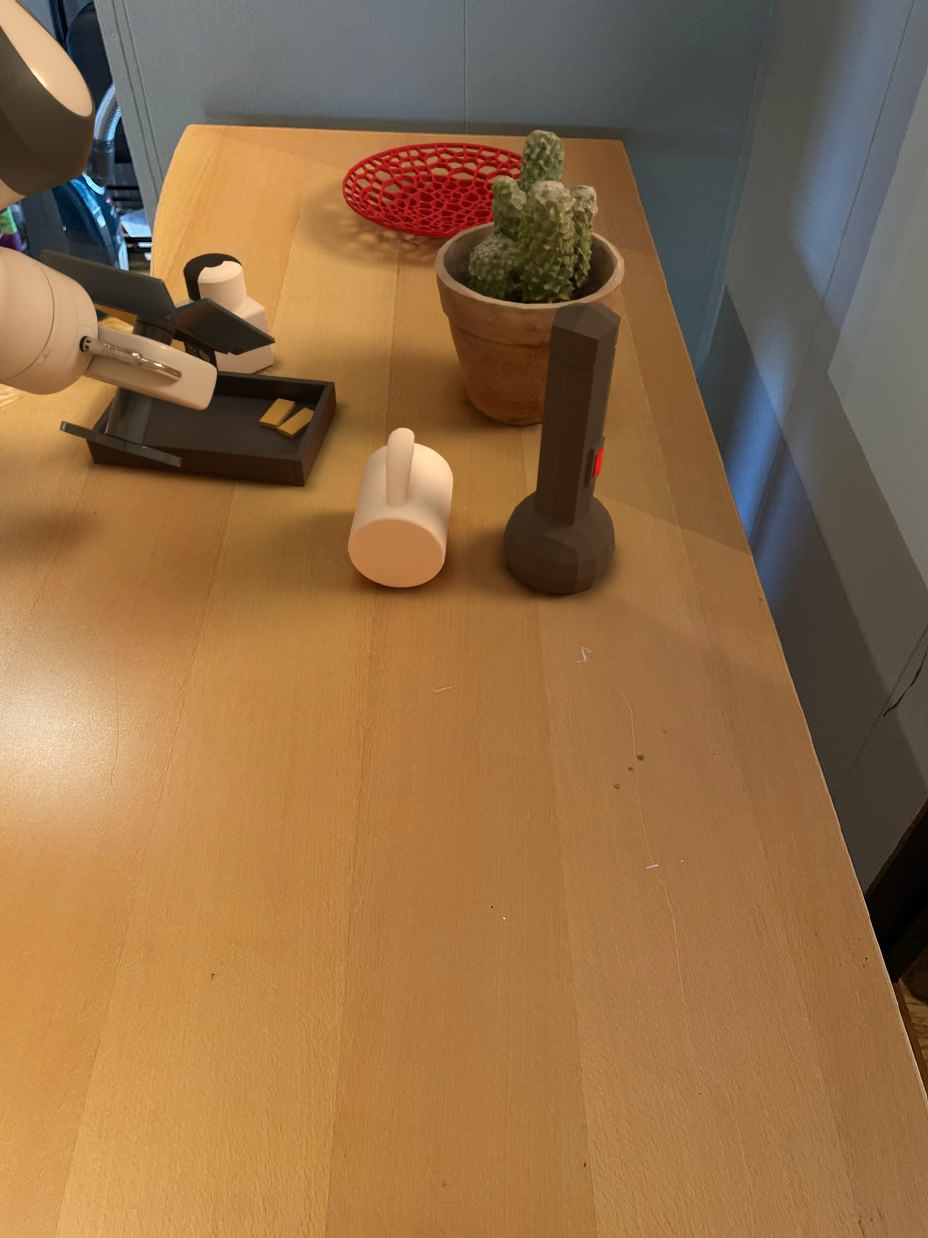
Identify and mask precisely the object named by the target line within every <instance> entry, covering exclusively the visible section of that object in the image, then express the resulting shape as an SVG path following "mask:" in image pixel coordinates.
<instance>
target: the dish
mask: <svg viewBox="0 0 928 1238" xmlns="http://www.w3.org/2000/svg"><path fill="white" fill-rule="evenodd" d="M38 258H39V260H40V261H41V263H42V264H44V265H46V266H48V267H50V268H52V269H54V270H56V271H58V272H60V273H62V274H64V275H66V276H68V277H70V278H72V279H73V280H75V281H76V282H77V283H79V284H80V285H81V286H82V287H83V288H84V289H85V291H86V292H87V294H88V295H89V297H90V298H91V300H92V303H93V305H94V308H95V310H99V311H101V312H102V313H105V314H107V315H108V316H111V317H113V318H115V319H117V320H119V321H121V322H123V323H125V324H128V325H129V326H131V327H133V328H132V330H131V333H132V334H135V335H139V336H142V337H146V338H149V339H152V340H155V341H158V342H161V343H163V344H166V345H168V346H171V347H172V343H173V341H177V342H180V343H183V342H184V343H187V344H191V345H194V346H198V347H202V348H205V349H209V350H212V351H216V352H219V353H223V354H227V355H228V352H229V353H232V354H234V355H241V354H243V353H245V352H248V351H251V350H254V349H257V348H261V347H264V346H267V345H270V344H271V345H272V344H275V343H276V338H275V337H273V336H271V335H270V334H269V335H268V334H266V333H265V332H263V331H261V330H260V329H258V328H256V327H255V326H253V325H252V324H250V323H248V322H247V321H245V320H243V319H242V318H240V317H238V316H237V315H235V314H234V313H232V312H230V311H229V310H227V309H225V308H224V307H222V306H220V305H219V304H217V303H216V302H214V301H212V300H211V299H209V298H204V299H201V300H198V301H195V302H192V303H189V304H186V305H183V306H180V307H178V308H176V307H175V305H176V304H175V303H174V301H173V298H172V296H171V294H170V291H169V289H168V288H167V285H166V283H165V280H164V279H163V278H158V277H155V276H150V275H148V274H143V273H138V272H135V271H132V270H127V269H124V268H121V267H116V266H112V265H109V264H105V263H100V262H96V261H94V260H89V259H85V258H81V257H77V256H74V255H69V254H67V253H66V254H65V253H62V252H58V251H54V250H50V249H46V248H44V249H43V250H42V251H41V254H40V255H39V256H38ZM184 343H183V344H184ZM114 393H115V394H114V396H115V397H114V396H113V398H114V400H113V404H112V408H111V411H110V415H109V419H108V422H107V426H106V430H105V433H103V432H100V431H96V430H93V429H92V428H89V427H86V426H83V425H80V424H76V423H72V422H69V421H65V420H61V422H60V427H59V431H61V432H63V433H65V434H69V435H72V436H75V437H78V438H81V439H83V440H86V439H87V440H90V441H93V442H97V443H100V444H103V445H106V446H109V447H113V448H116V449H119V450H122V451H126V452H129V453H132V454H136V455H139V456H142V457H146V458H149V459H153V460H156V461H160V462H163V463H167V464H170V465H174V466H178V467H181V465H182V461H183V458H182V457H179V456H176V455H173V454H170V453H167V452H164V451H161V450H158V449H154V448H151V447H148V446H145V445H144V441H145V438H146V434H147V430H148V427H149V423H150V420H151V416H152V412H153V409H154V405H155V402H156V398H155V397H152V396H148V395H145V394H142V393H138V392H135V391H132V390H128V389H125V388H122V387H118V386H116V390H115V392H114Z"/></svg>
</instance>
